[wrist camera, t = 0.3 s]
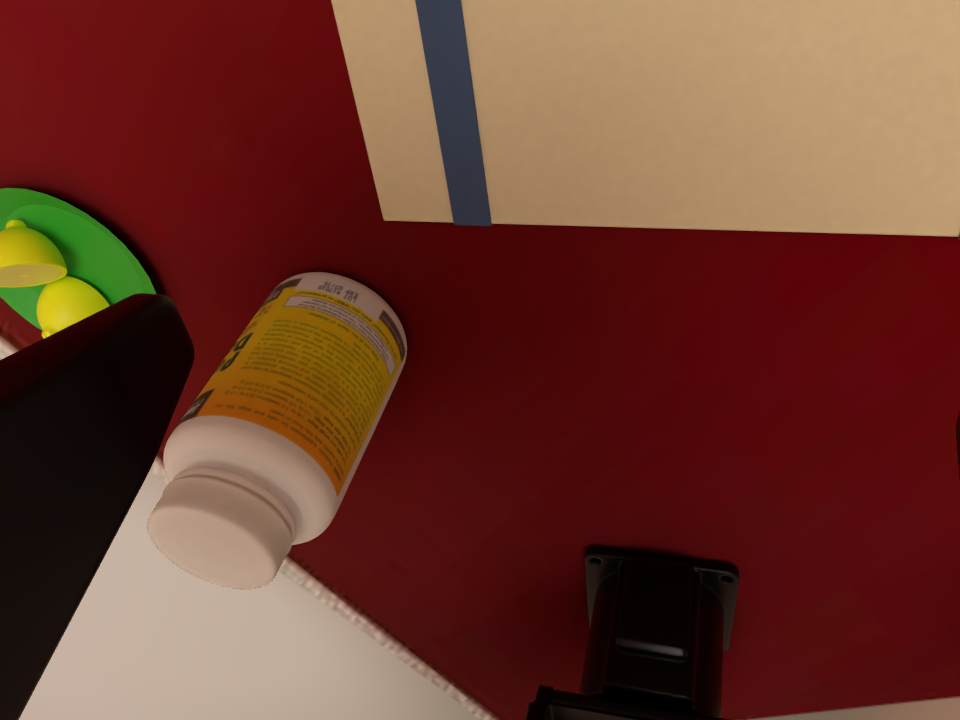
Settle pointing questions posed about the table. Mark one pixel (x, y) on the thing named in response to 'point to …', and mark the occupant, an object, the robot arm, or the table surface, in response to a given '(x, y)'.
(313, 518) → the supplement bottle
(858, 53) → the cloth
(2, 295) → the lemons on green plate
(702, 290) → the table surface
